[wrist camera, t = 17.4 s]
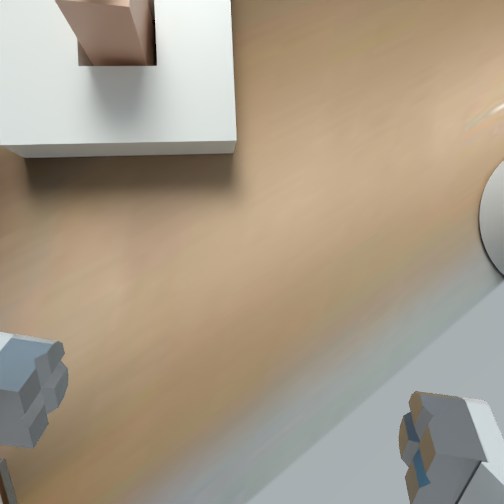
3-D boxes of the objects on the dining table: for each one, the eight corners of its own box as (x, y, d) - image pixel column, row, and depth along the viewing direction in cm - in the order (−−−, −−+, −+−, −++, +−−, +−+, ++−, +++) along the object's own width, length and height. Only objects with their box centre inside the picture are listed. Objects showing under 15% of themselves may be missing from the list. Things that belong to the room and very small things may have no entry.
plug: (155, 31, 40) (124, -103, 25) (152, 81, 40) (119, -23, 25) (103, 26, 40) (40, -114, 25) (100, 77, 40) (35, -33, 25)
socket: (224, -47, 41) (226, -84, 36) (233, 153, 41) (236, 140, 36) (15, -51, 39) (-10, -91, 34) (24, 157, 39) (0, 145, 34)
